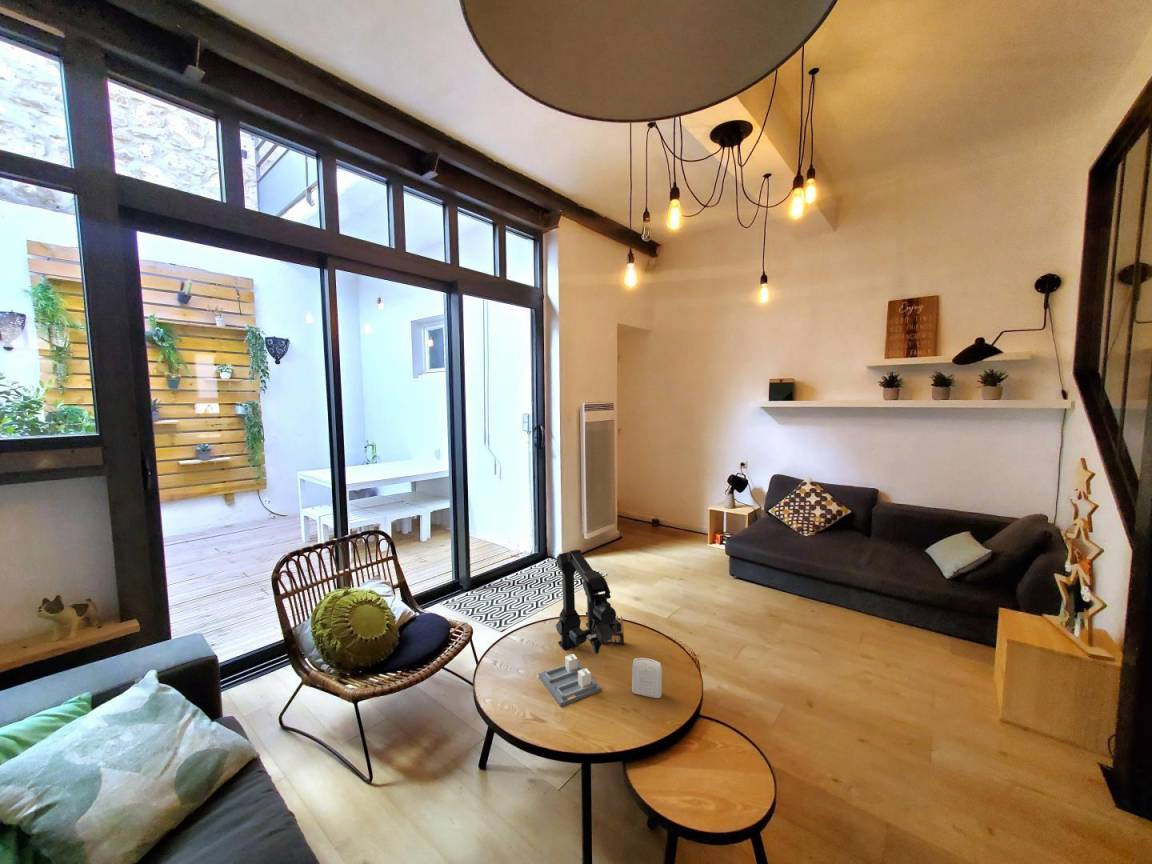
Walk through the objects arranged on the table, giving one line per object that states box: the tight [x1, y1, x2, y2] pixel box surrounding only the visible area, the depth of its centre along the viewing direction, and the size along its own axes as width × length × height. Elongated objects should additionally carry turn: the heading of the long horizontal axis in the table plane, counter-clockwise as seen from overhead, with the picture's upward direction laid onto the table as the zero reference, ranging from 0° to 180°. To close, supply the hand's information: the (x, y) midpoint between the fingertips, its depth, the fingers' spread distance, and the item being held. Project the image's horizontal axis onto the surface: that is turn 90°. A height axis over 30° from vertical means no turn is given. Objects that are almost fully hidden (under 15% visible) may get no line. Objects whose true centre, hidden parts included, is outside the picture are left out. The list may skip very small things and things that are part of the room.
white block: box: [578, 667, 592, 688], centre depth 156 cm, size 3×4×5 cm
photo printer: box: [631, 657, 663, 699], centre depth 153 cm, size 10×4×12 cm, turn 73°
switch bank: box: [538, 660, 602, 707], centre depth 159 cm, size 18×16×2 cm
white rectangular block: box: [564, 653, 578, 672], centre depth 165 cm, size 3×4×5 cm
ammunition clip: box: [601, 615, 625, 646], centre depth 184 cm, size 11×2×12 cm, turn 84°
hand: (596, 653), depth 159 cm, fingers closed
